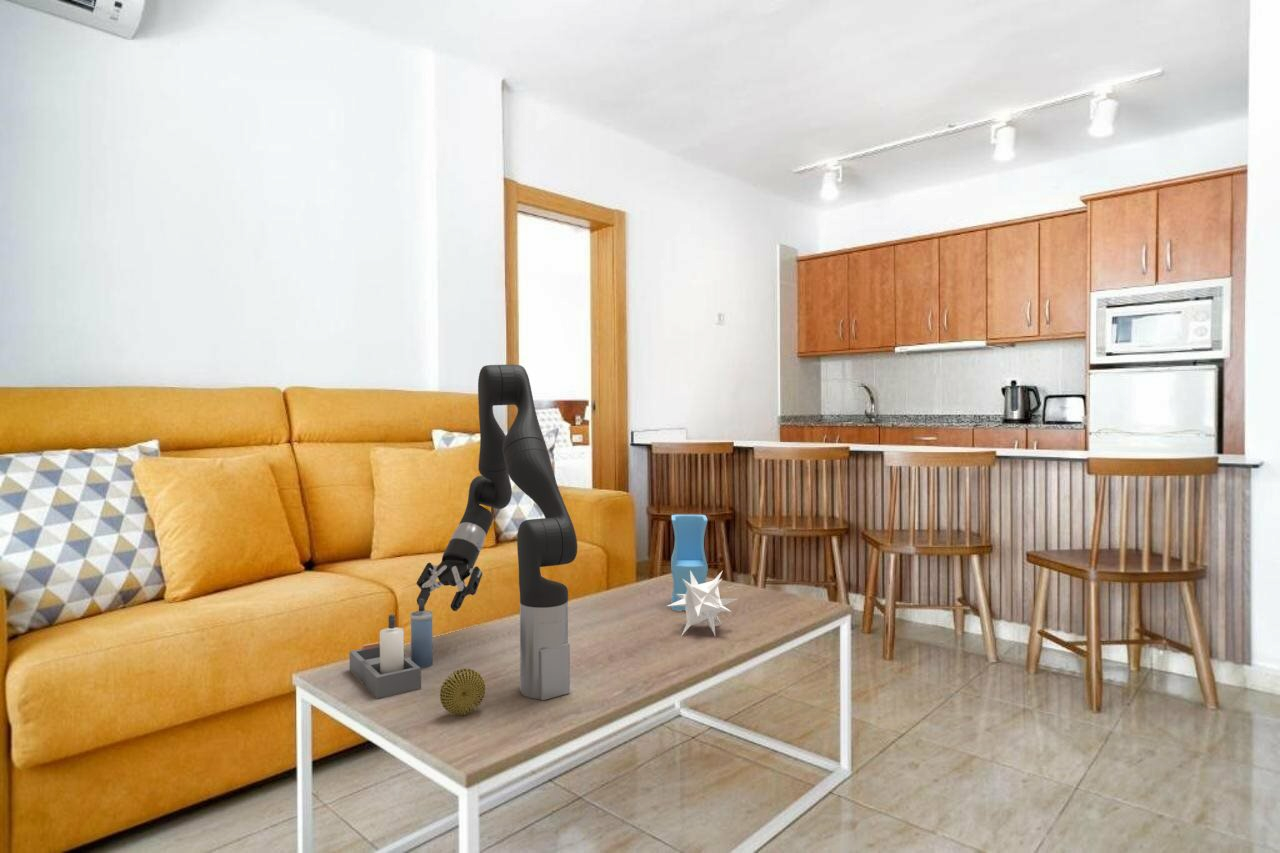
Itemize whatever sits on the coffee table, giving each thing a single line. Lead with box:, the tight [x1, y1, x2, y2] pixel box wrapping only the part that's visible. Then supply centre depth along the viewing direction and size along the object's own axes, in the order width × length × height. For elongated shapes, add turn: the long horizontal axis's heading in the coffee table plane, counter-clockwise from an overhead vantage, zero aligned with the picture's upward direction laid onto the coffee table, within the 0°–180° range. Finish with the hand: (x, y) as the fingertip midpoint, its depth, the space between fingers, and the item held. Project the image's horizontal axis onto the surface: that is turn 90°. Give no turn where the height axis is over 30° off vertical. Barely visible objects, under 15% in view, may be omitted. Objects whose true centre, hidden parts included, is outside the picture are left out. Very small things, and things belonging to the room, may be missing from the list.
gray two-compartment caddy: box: [349, 613, 422, 700], centre depth 143 cm, size 19×8×14 cm, turn 37°
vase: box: [670, 514, 709, 611], centre depth 197 cm, size 10×10×25 cm
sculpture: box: [439, 668, 486, 716], centre depth 126 cm, size 8×4×8 cm, turn 118°
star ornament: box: [667, 569, 738, 637], centre depth 175 cm, size 20×14×14 cm
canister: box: [410, 598, 434, 669], centre depth 151 cm, size 4×4×14 cm
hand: (436, 607), depth 156 cm, fingers open, 8 cm apart
